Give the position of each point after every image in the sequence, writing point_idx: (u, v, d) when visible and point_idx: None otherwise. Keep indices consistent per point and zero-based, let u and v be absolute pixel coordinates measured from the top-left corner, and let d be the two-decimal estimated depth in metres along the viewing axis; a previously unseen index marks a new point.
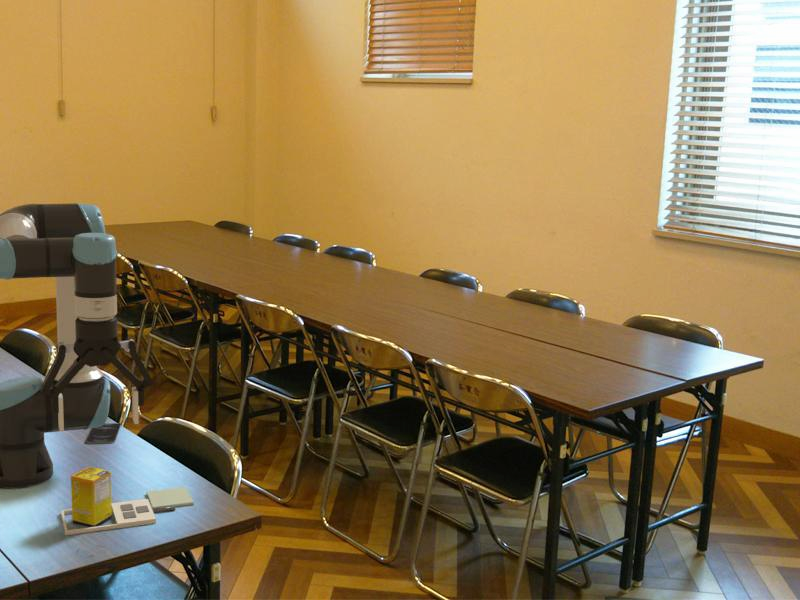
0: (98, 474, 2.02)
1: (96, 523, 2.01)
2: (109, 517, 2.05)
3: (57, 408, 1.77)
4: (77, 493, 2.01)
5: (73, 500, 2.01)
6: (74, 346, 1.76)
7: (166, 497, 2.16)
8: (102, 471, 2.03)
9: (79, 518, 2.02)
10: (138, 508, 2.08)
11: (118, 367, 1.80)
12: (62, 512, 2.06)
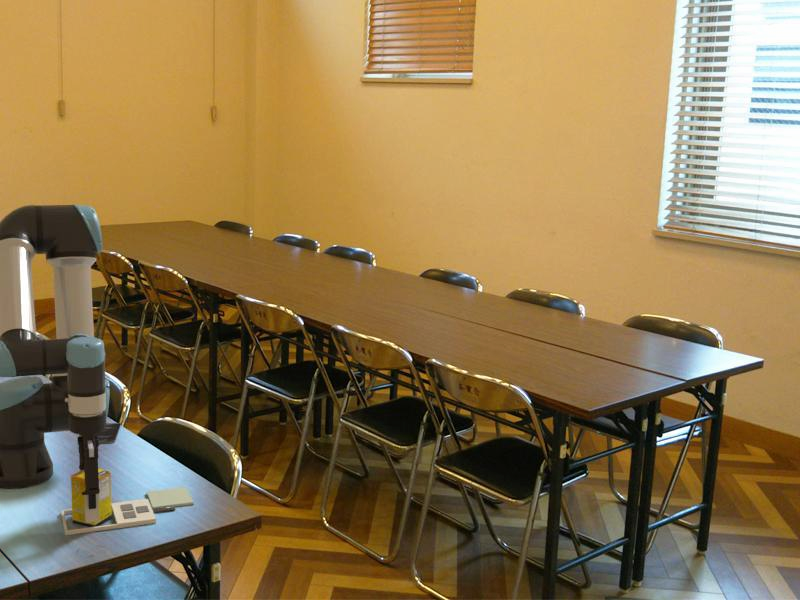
0: (98, 474, 2.02)
1: (96, 523, 2.01)
2: (109, 517, 2.05)
3: None
4: (77, 493, 2.01)
5: (73, 500, 2.01)
6: None
7: (166, 497, 2.16)
8: (102, 471, 2.03)
9: (79, 517, 2.02)
10: (138, 508, 2.08)
11: (83, 463, 1.98)
12: (62, 512, 2.06)
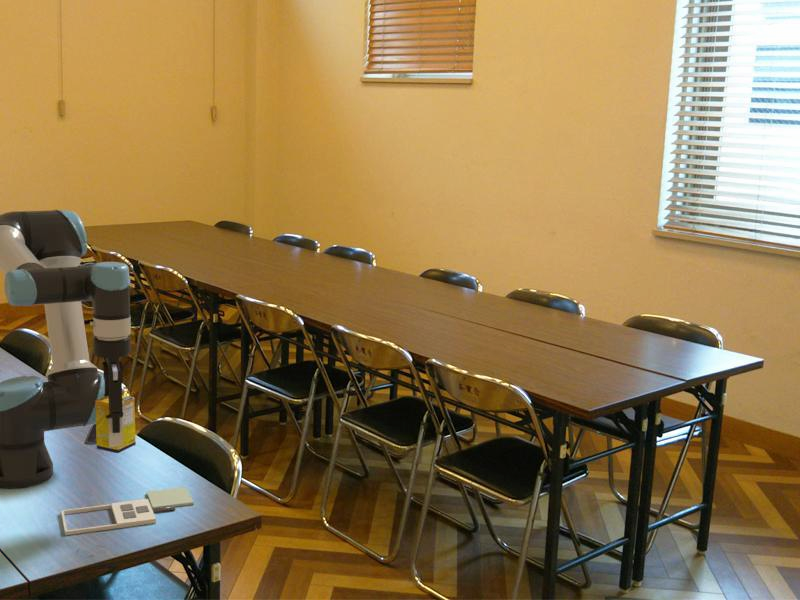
0: (122, 399, 2.02)
1: (120, 448, 2.02)
2: (133, 444, 2.05)
3: None
4: (101, 418, 2.01)
5: (97, 425, 2.02)
6: None
7: (166, 497, 2.16)
8: (126, 397, 2.04)
9: (103, 442, 2.02)
10: (138, 508, 2.08)
11: (107, 387, 1.99)
12: (62, 512, 2.06)
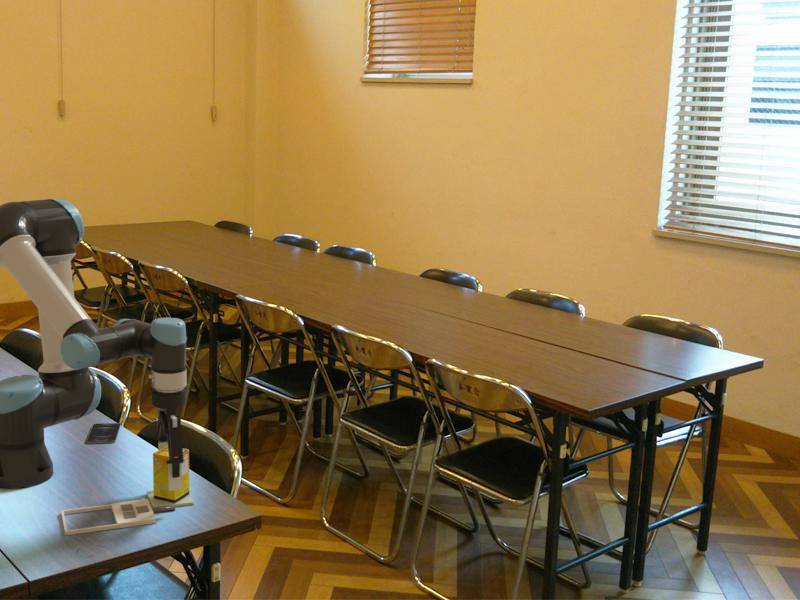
0: None
1: (176, 498, 2.14)
2: (187, 493, 2.18)
3: None
4: (159, 470, 2.13)
5: (154, 476, 2.14)
6: None
7: None
8: None
9: (160, 493, 2.14)
10: (138, 508, 2.08)
11: (166, 435, 2.10)
12: (62, 512, 2.06)
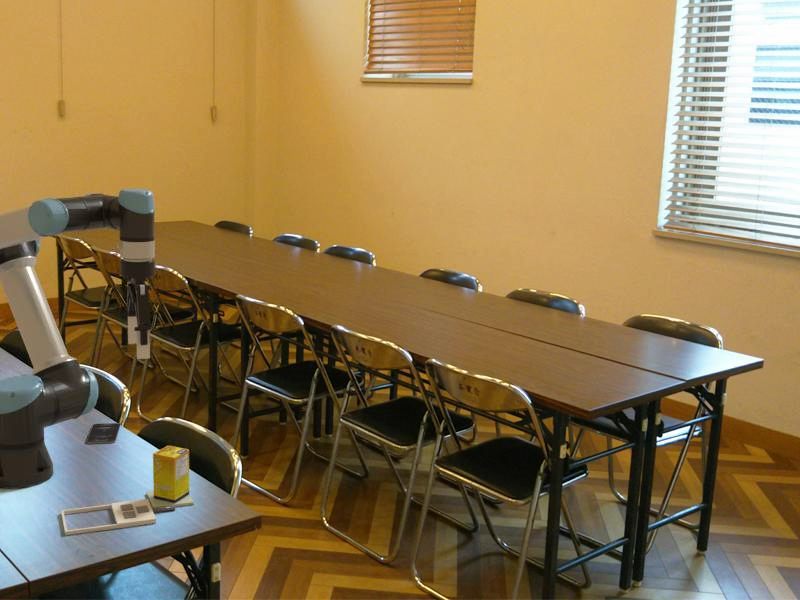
0: (178, 452, 2.14)
1: (176, 498, 2.14)
2: (187, 493, 2.18)
3: None
4: (159, 470, 2.13)
5: (154, 476, 2.14)
6: None
7: None
8: (181, 449, 2.16)
9: (160, 493, 2.14)
10: (138, 508, 2.08)
11: (134, 305, 2.11)
12: (62, 512, 2.06)
